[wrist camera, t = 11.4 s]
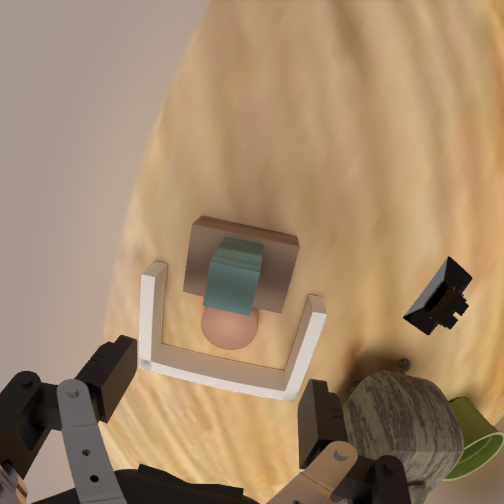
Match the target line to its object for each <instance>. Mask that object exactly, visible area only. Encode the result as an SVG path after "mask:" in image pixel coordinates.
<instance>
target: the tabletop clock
mask: <svg viewBox="0 0 504 504" xmlns="http://www.w3.org/2000/svg"><path fill="white" fill-rule="evenodd" d="M399 367H400V369H401V370H402V371H401V373H400V374H398V373H394V372H390V371H386V370H381V371H379V372H376V373H374V374H371V375H369V376H367V377H366V378H364V379H363V380H362V381H361V382H360V383H354V384H352V386H351V389H350V390H351V392H352V394H351V395H350V397H349V398H348V399H347V400H346V402H345V403H344V404H343V406H342V411H343V416H344V417H343V418H344V421H345V426H346V431H347V437H348V442H349V444H351V445H352V446H353V447H354V448H355V449H356V451H357V454H358V455H360V456H363V457H366V458H370V459H373V460H377V459H378V458H379V457H381V456H383V455H392V456H395V457H397V458H398V459H399V460H400V461H401V462H402V463H403V465H404V469H405V474H406V478H407V483H408V488H409V493H410V498H411V503H412V504H423V503H424V501H425V499H426V496H427V493H429V492H430V491H431V490H432V489H433V488H435V487H436V486H437V485H438V484H439V483H440V482H441V481H442V480H443V479H444V478H445V477H446V476H447V475H448V474H449V473H450V472H451V471H452V470H453V469H454V468H455V466H456V465H457V464H458V462H459V460H460V459H461V457H462V455H463V453H464V438H463V434H462V431H461V427H460V424H459V422H458V420H457V417H456V415H455V413H454V411H453V408H452V406H451V404H450V403H449V401H448V400H447V399H446V397H445V396H444V394H443V393H442V391H441V390H440V389H439V388H438V387H437V386H436V385H435V384H434V383H433V382H431V381H429V380H426V379H421V378H416V377H412V376H407V375H405V371H408V370H409V369H410V367H411V363H410V361H409V360H403V361H402V362H401V363H400V366H399ZM330 498H331V500H332V502H333V503H334V504H347V499H345V498H342V497H338V496H335V495H332V494H331V495H330Z"/></svg>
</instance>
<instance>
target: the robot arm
mask: <svg viewBox="0 0 504 504" xmlns="http://www.w3.org/2000/svg"><path fill="white" fill-rule="evenodd" d="M136 370H137V340H136V339H134V338H131V337H128V336H124V335H120V336H119V337H118V339H117V340H116V341H115V343H112V342H107V343H105V344H103V345H101V346H100V347H99V348H98V349H97V351H96V352H95V354H94V355H93V356H92V357H91V358H90V360H89V361H88V362H87V363H86V365H85V366H84V367H83V368H82V370H81V371H80V372H79V373H78V375H77V376H76V377H75V378H74V379H68V380H65V381H63V382H61V383H60V384H59V385H53V384H47V383H42V382H41V380H40V378H39V376H38V375H37V374H36V373H34V372H31V371H22V372H20V373H17V374H16V375H15V376H14V377H13V378H12V380H11V381H10V382H9V383H8V385H7V386H6V387H5V388H4V390H3V391H2V392H1V393H0V504H26V497H27V492H28V491H27V487H26V484H25V482H24V481H23V480H24V478H25V476H26V474H27V472H28V470H29V468H30V466H31V464H32V463H33V461H34V459H35V457H36V456H37V454H38V452H39V450H40V448H41V447H42V445H43V443H44V441H45V440H46V438H47V436H48V434H49V433H50V431H51V429H54V430H59V431H62V434H63V440H64V445H65V449H66V453H67V458H68V461H69V466H70V469H71V473H72V477H73V481H74V484H75V488H73V489H70V490H67V491H65V492H62V493H59V494H57V495H54V496H51V497H48V498H46V499H43V500H40V501H37V502H34V503H32V504H259V503H258V502H257V501H255V500H253V499H251V498H249V497H247V496H245V495H243V490H244V488H237V487H231V486H226V485H220V484H191V483H187V482H185V481H183V480H181V479H179V478H177V477H175V476H173V475H171V474H169V473H167V472H165V471H162V470H159V469H156V468H153V467H149V466H146V465H143V464H140V465H139V468H138V469H122V470H117V471H113V468H112V466H111V463H110V460H109V457H108V454H107V451H106V448H105V445H104V442H103V439H102V436H101V433H100V430H99V426H98V422H99V421H102V422H105V423H108V421H109V419H110V418H111V416H112V414H113V412H114V410H115V409H116V407H117V405H118V403H119V402H120V400H121V398H122V396H123V395H124V393H125V391H126V389H127V388H128V386H129V384H130V382H131V381H132V379H133V377H134V375H135V373H136ZM343 417H344V416H343V411H342V405H341V401H340V400H339V398H338V397H337V395H336V394H335V393H330V392H328V386H327V382H326V381H322V380H314V379H310V380H309V381H308V384H307V386H306V388H305V391H304V393H303V395H302V398H301V400H300V402H299V406H298V437H299V469H305V470H304V471H303V472H300V473H299V474H298V475H297V476H296V477H295V478H294V479H293V480H292V481H291V482H289V483H288V484H287V485H286V486H285V487H284V488H283V489H282V490H281V491H280V492H279V493H278V494H277V495H275V496H274V497H273V498H272V499H271V500H270V501H269V502H268V503H266V504H323V503H324V502H325V501H326V500H327V499H328V497H329V496H330V495H331V494H332V495H335V496H338V497H342V498H345V499H347V504H412V503H411V498H410V493H409V488H408V483H407V478H406V474H405V469H404V465H403V463H402V462H401V461H400V460H399V459H398V458H397V457H395V456H392V455H383V456H381V457H379V458H378V459H377V460H373V459H370V458H366V457H363V456H360V455H358V454H357V451H356V449H355V448H354V447H353V446H352V445H351V444H349V442H348V437H347V431H346V426H345V421H344V418H343Z"/></svg>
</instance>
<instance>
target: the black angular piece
mask: <svg viewBox="0 0 504 504" xmlns="http://www.w3.org/2000/svg"><path fill="white" fill-rule="evenodd" d="M471 280H472V277H471V276H470V275H469V274H468V273H467V272H466V271H465V270H464V269H463V268H462V267H461V266H460V265H459V264H458V263H456V262H455V261H454V260H453V259H452V258H451V257H450V256H448V257H447V259H446V260H445V262H444V263H443V265H442V266H441V268H440V269H439V270H438V272H437V273H436V275H435V276H434V277H433V279H432V280H431V282H430V283H429V284H428V286H427V287H426V288H425V290H424V291H423V292H422V294H421V295H420V296H419V298H418V299H417V300H416V301H415V303H414V304H413V305H412V307H411V308H410V309H409V310H408V312H407V313H406V314H405V315H404V317H403V318H404V319H405V320H407V321H408V322H409V323H411V324H412V325H414V326H415V327H417V328H418V329H419V330H421V331H422V332H424V333H425V334H426V335H430V333H431V332H432V331H433V330H434V329H435V327H436V326H437V325H438V324H439V325H440V326H441V325H442V326H444V327H445V328H446V327H447V328H448V329H450V330H451V328H452V327H453V326H454V325H455V323H456V322H457V321H458V319H457V318H456V317H455V316H453V314H454V313H455V312H457V313H458V314H459V315H460V316H462V315H463V313H464V312H465V311H466V309H467V308H468V307H469V305H468V304H467V303H466V301H467V300H466V299H465V298H463V296H464V295H463V294H462V293H463V291H464V290H465V288H466V287H467V286H468V284H469V283H470V281H471Z"/></svg>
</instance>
